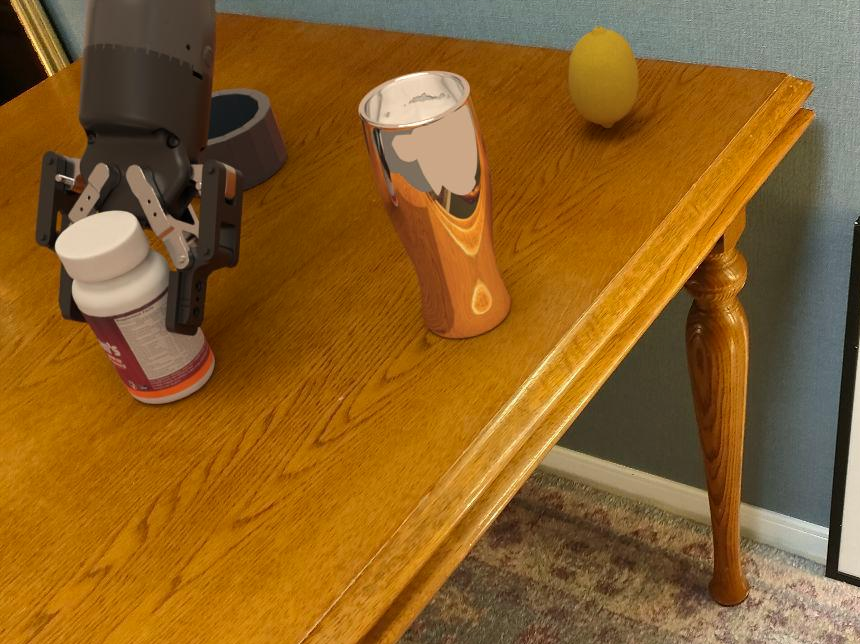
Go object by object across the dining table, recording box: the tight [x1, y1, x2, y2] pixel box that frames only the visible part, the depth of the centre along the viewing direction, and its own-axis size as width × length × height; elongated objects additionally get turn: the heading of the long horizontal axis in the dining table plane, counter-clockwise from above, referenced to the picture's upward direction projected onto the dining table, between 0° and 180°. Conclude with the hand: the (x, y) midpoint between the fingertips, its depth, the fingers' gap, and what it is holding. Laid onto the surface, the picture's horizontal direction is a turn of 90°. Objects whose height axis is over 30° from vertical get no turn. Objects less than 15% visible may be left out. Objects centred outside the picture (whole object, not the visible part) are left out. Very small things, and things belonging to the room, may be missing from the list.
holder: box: [194, 87, 288, 198], centre depth 86 cm, size 10×10×4 cm
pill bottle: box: [55, 211, 216, 405], centre depth 64 cm, size 6×6×11 cm
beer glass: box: [357, 70, 512, 340], centre depth 63 cm, size 7×7×15 cm
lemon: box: [567, 25, 640, 129], centre depth 79 cm, size 6×6×8 cm
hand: (128, 327), depth 64 cm, fingers open, 8 cm apart
